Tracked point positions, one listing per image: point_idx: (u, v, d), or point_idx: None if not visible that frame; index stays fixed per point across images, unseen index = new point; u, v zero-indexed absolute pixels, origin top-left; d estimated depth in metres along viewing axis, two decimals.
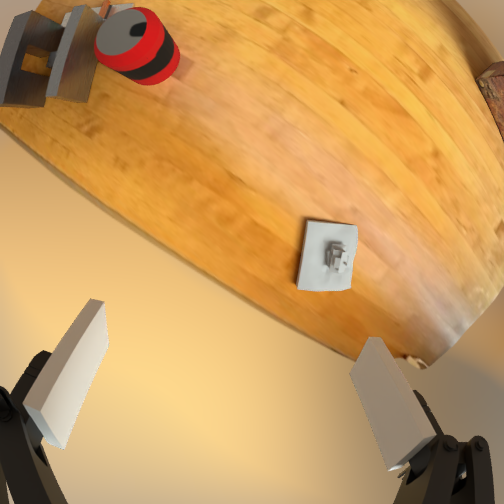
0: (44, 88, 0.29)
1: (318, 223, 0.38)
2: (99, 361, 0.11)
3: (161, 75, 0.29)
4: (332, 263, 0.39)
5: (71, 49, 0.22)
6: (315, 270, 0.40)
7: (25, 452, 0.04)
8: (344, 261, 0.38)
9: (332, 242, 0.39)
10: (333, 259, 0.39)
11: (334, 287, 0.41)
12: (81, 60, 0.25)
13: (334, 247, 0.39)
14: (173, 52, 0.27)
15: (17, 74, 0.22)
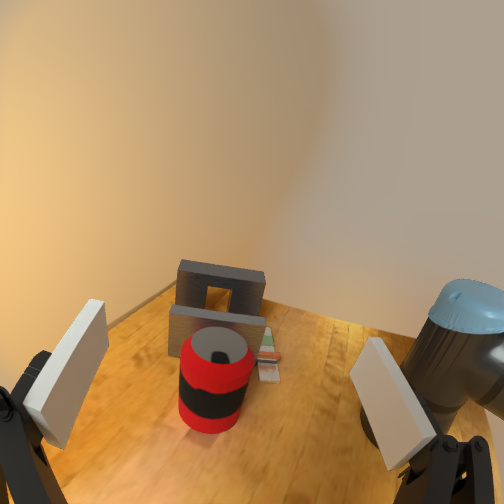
0: None
1: None
2: (99, 361, 0.11)
3: (185, 413, 0.28)
4: None
5: (215, 322, 0.37)
6: None
7: (25, 452, 0.04)
8: None
9: None
10: None
11: None
12: None
13: None
14: (212, 418, 0.27)
15: (203, 283, 0.45)
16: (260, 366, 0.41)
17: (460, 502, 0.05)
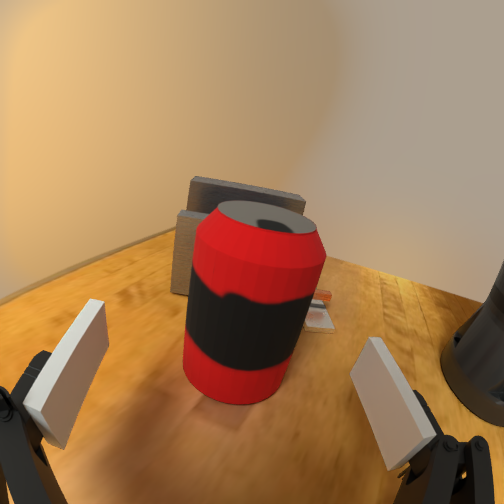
0: None
1: None
2: (99, 361, 0.11)
3: (195, 364, 0.17)
4: None
5: None
6: None
7: (25, 452, 0.04)
8: None
9: None
10: None
11: None
12: None
13: None
14: (246, 370, 0.16)
15: (223, 199, 0.34)
16: None
17: (460, 502, 0.05)
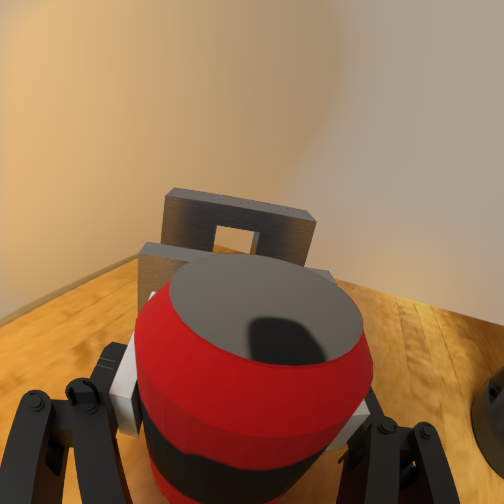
0: None
1: None
2: None
3: (164, 486, 0.09)
4: None
5: None
6: None
7: (106, 447, 0.06)
8: None
9: None
10: None
11: None
12: None
13: None
14: None
15: (209, 219, 0.26)
16: None
17: (416, 496, 0.06)
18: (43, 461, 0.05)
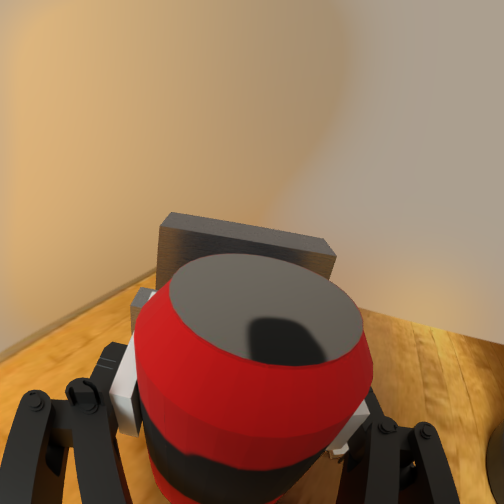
0: None
1: None
2: None
3: (164, 486, 0.09)
4: None
5: None
6: None
7: (106, 447, 0.06)
8: None
9: None
10: None
11: None
12: None
13: None
14: None
15: (211, 254, 0.22)
16: None
17: (416, 496, 0.06)
18: (43, 461, 0.05)
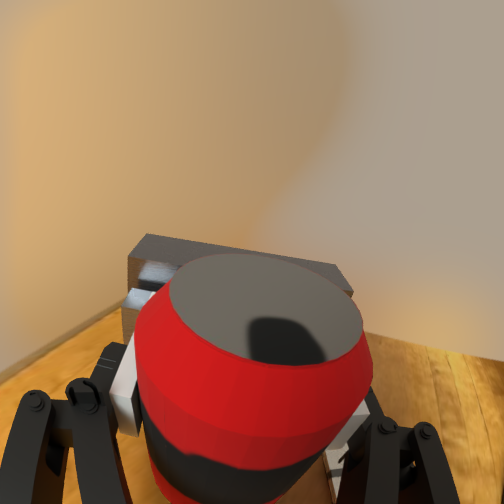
0: None
1: None
2: None
3: (164, 486, 0.09)
4: None
5: None
6: None
7: (106, 447, 0.06)
8: None
9: None
10: None
11: None
12: None
13: None
14: None
15: None
16: (338, 487, 0.12)
17: (416, 496, 0.06)
18: (43, 461, 0.05)
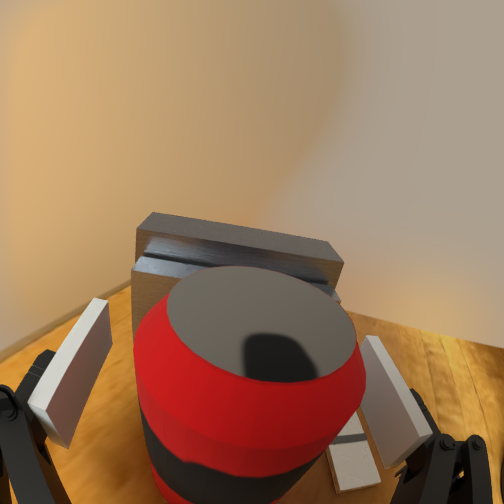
0: None
1: None
2: (103, 360, 0.11)
3: (165, 490, 0.09)
4: None
5: None
6: None
7: (29, 451, 0.04)
8: None
9: None
10: None
11: None
12: None
13: None
14: None
15: (197, 261, 0.18)
16: (335, 454, 0.14)
17: (458, 501, 0.05)
18: None
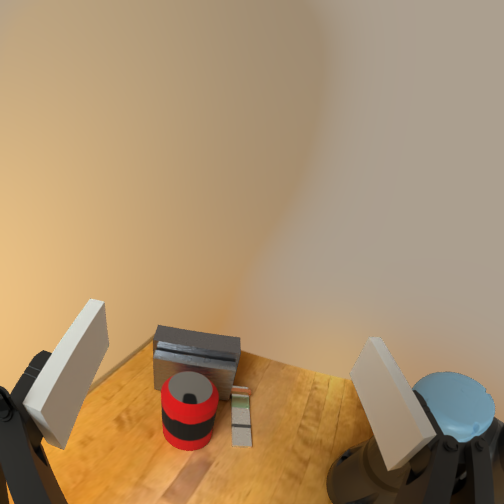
0: None
1: None
2: (99, 361, 0.11)
3: (167, 434, 0.33)
4: None
5: (192, 367, 0.41)
6: None
7: (25, 452, 0.04)
8: None
9: None
10: None
11: None
12: None
13: None
14: (187, 440, 0.32)
15: (178, 352, 0.43)
16: (234, 431, 0.39)
17: (460, 502, 0.05)
18: None
